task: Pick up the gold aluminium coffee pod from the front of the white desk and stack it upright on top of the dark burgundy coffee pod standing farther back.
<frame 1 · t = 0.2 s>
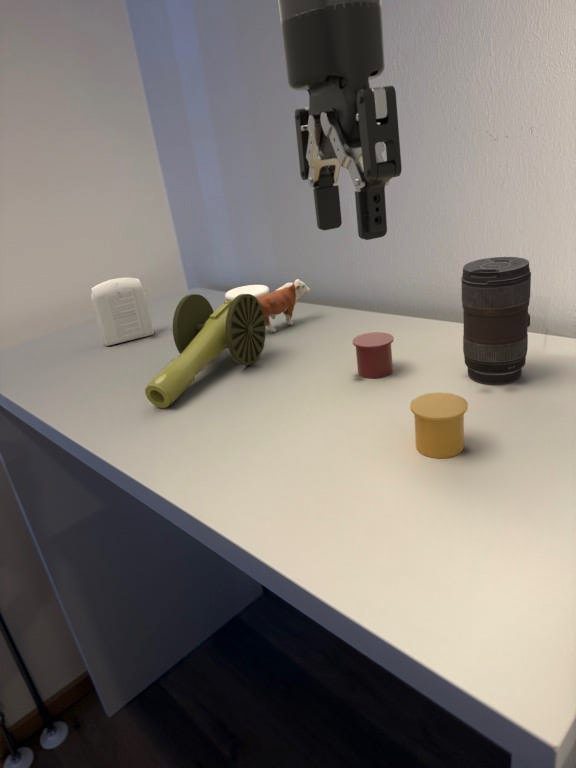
hand: (349, 233, 47), 24 cm above the table, tool pointing down, fingers open, 8 cm apart
gold pod: (439, 445, 58), on the table
bull figurine: (282, 327, 104), on the table
camera lens: (493, 375, 73), on the table
cannon: (207, 376, 86), on the table
burgundy pod: (375, 371, 79), on the table
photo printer: (129, 340, 110), on the table
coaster: (249, 306, 121), on the table
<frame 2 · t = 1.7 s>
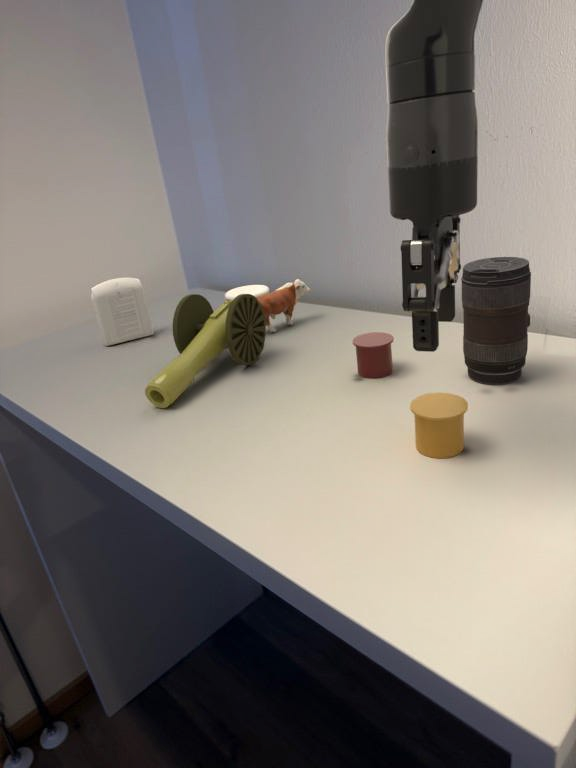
hand: (435, 334, 53), 13 cm above the table, tool pointing down, fingers open, 8 cm apart
nothing on the table moved.
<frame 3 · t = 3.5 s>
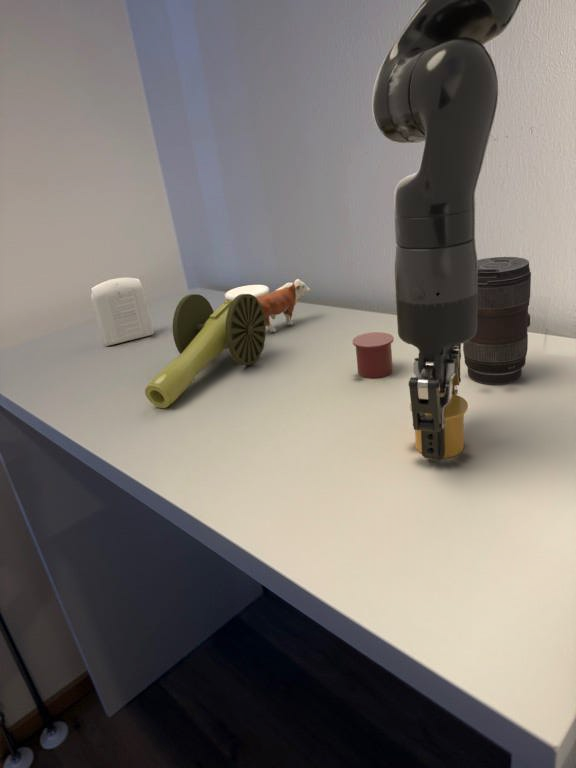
hand: (439, 441, 58), 1 cm above the table, tool pointing down, fingers closed on gold pod, 5 cm apart
gold pod: (439, 445, 58), on the table, touching gripper
everything else where it was.
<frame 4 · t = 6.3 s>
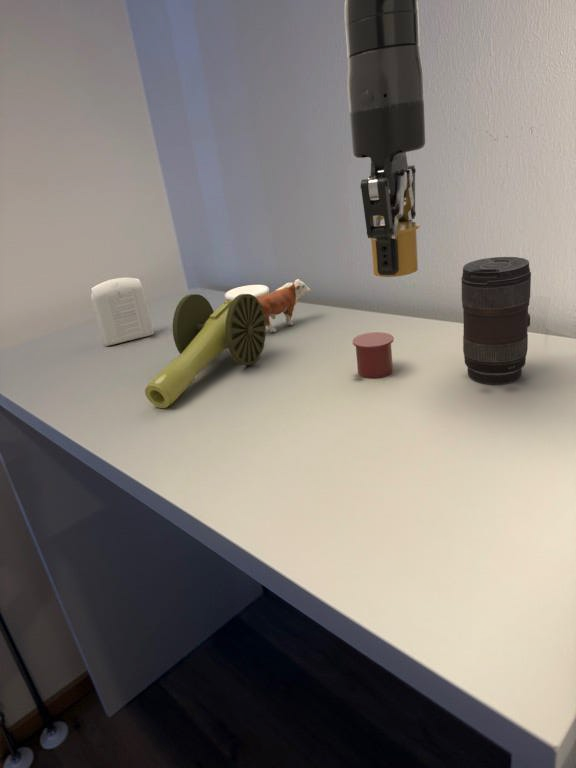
hand: (395, 266, 62), 17 cm above the table, tool pointing down, fingers closed on gold pod, 5 cm apart
gold pod: (395, 271, 62), point 17 cm above the table, touching gripper
everything else where it was.
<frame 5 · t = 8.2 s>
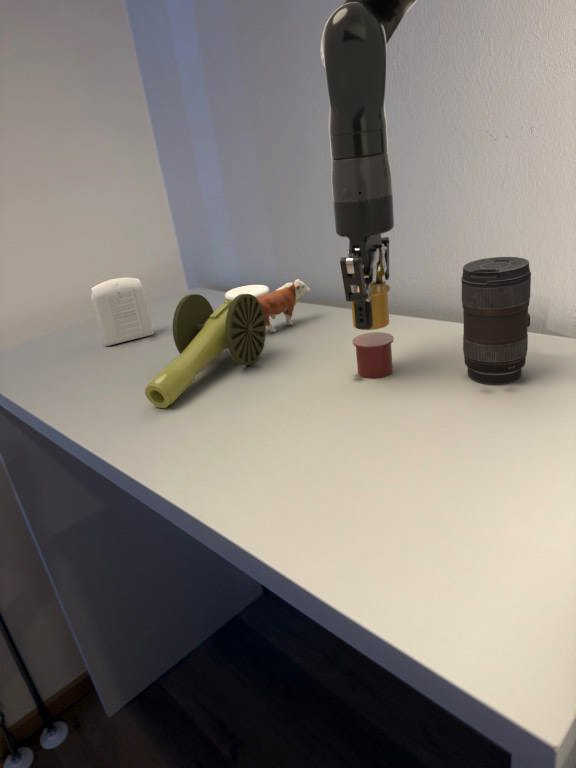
hand: (371, 320, 75), 8 cm above the table, tool pointing down, fingers closed on gold pod, 5 cm apart
gold pod: (371, 324, 76), point 7 cm above the table, touching gripper
everything else where it was.
when the fingers open (5 cm above the table, at t = 9.4 s): gold pod stays where it is, resting on burgundy pod.
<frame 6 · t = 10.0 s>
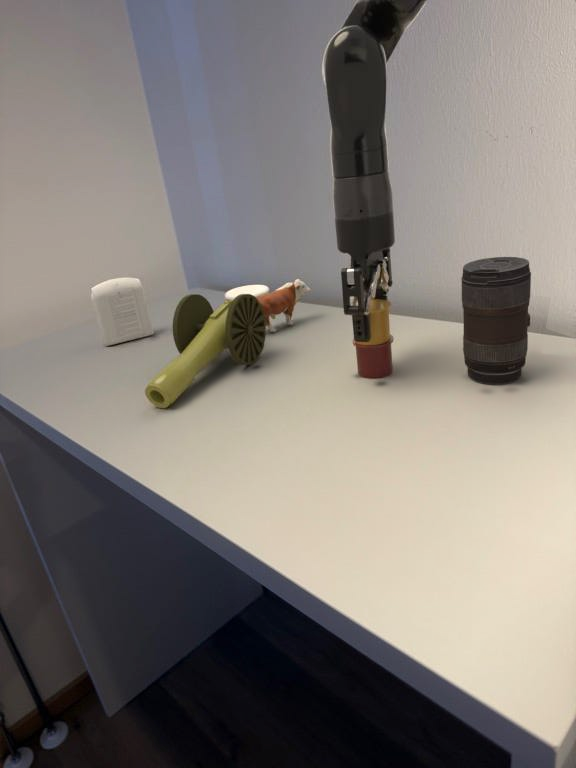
hand: (372, 330, 76), 6 cm above the table, tool pointing down, fingers open, 8 cm apart
gold pod: (372, 339, 77), point 5 cm above the table, touching burgundy pod
burgundy pod: (375, 371, 79), on the table, touching gold pod
everything else where it was.
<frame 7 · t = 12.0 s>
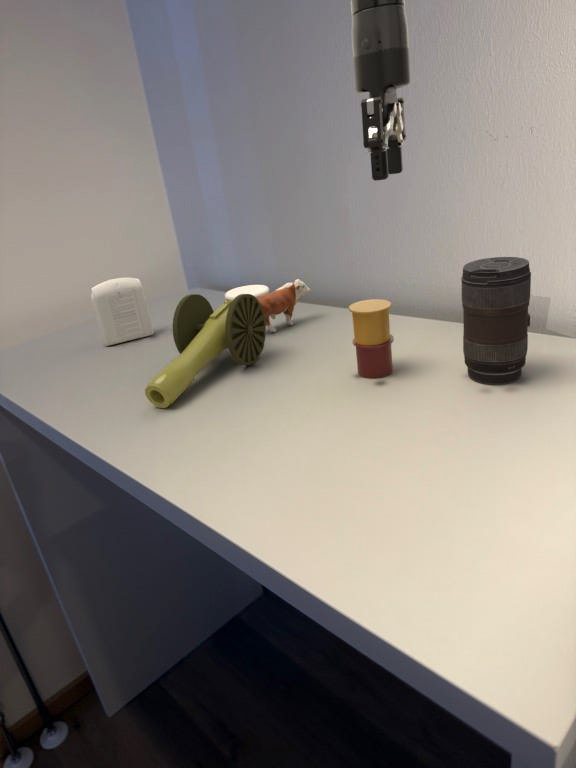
hand: (388, 176, 80), 25 cm above the table, tool pointing down, fingers open, 8 cm apart
nothing on the table moved.
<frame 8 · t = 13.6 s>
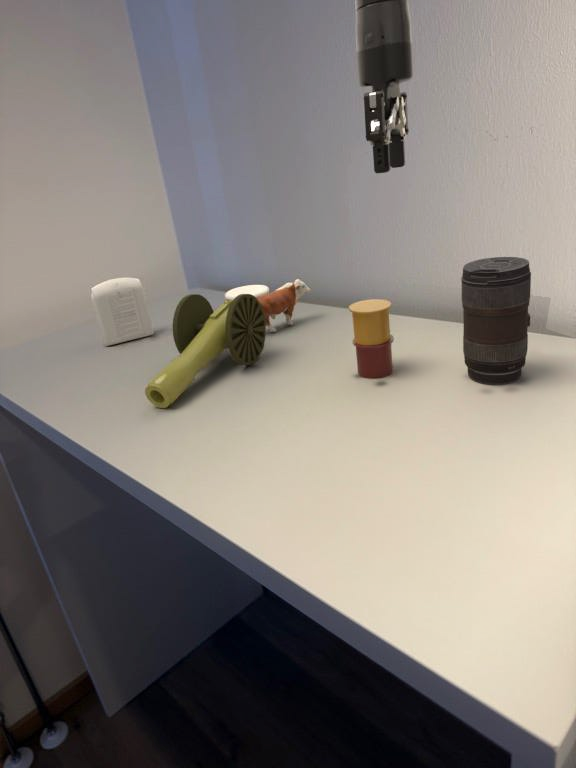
hand: (390, 169, 82), 26 cm above the table, tool pointing down, fingers open, 8 cm apart
nothing on the table moved.
at the end: gold pod 0.1 cm off-centre on the burgundy pod, point 5.0 cm above the burgundy pod's base; gold pod tilted 0°; burgundy pod tilted 0° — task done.
